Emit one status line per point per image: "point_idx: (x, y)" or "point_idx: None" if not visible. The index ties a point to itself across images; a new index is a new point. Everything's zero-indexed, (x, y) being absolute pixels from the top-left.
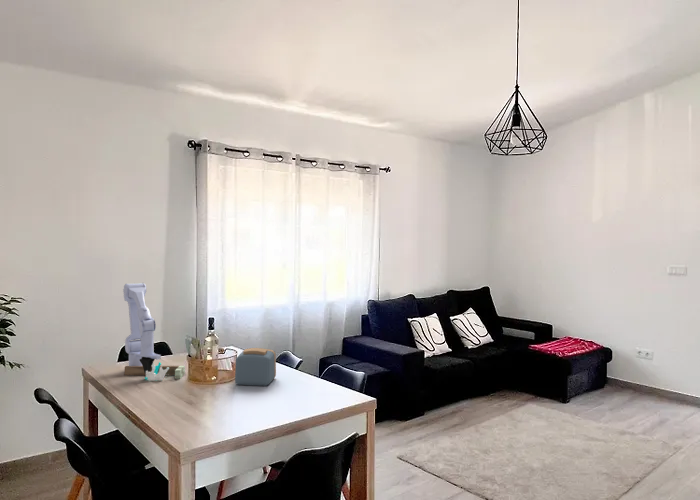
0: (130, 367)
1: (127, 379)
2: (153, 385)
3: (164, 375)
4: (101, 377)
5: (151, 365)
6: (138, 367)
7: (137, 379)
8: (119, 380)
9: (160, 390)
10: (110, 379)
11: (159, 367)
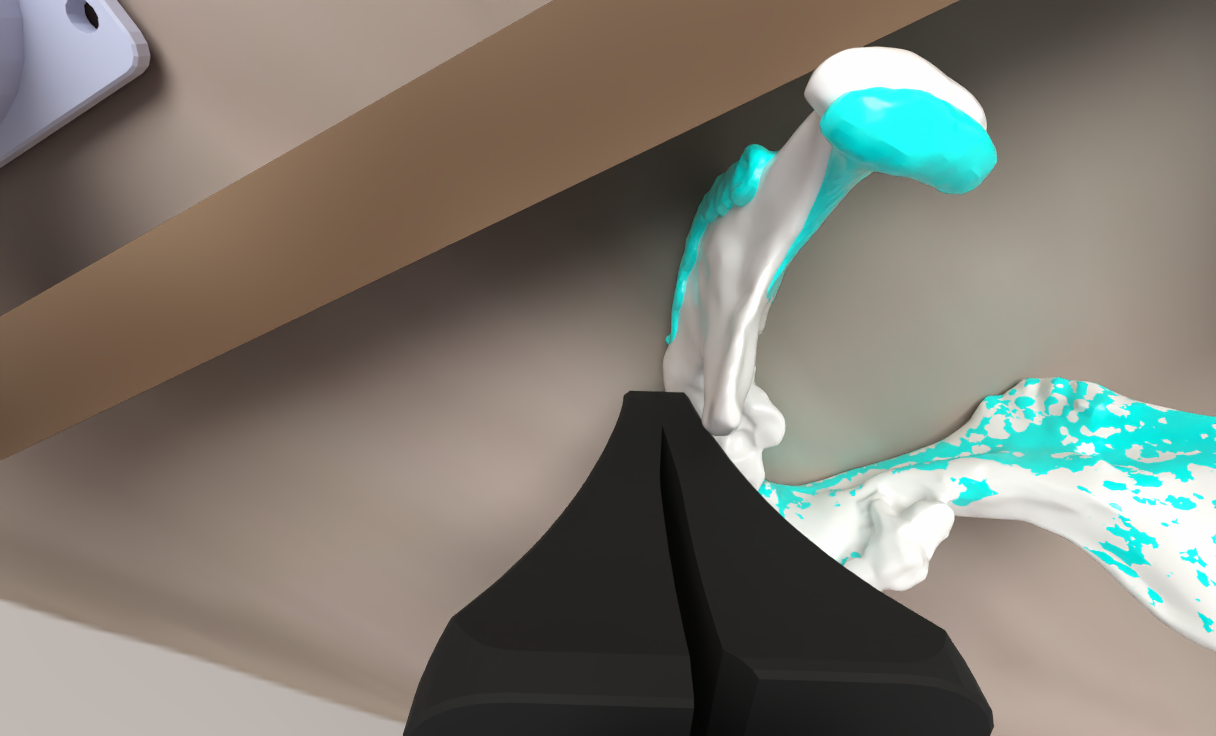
0: (61, 429)
1: (423, 532)
2: (1002, 615)
3: (1133, 409)
4: (7, 569)
5: (760, 500)
6: (213, 353)
7: (563, 488)
8: (373, 592)
9: (1183, 708)
10: (221, 595)
11: (797, 72)
